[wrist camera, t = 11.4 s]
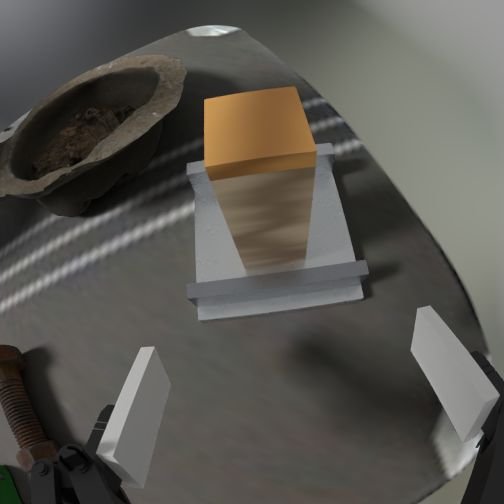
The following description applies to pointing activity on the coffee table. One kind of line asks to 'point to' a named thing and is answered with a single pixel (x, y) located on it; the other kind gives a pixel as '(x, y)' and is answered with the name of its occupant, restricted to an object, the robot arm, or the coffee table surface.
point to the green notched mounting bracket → (7, 488)
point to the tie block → (262, 172)
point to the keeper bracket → (276, 276)
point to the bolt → (22, 412)
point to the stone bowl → (91, 133)
